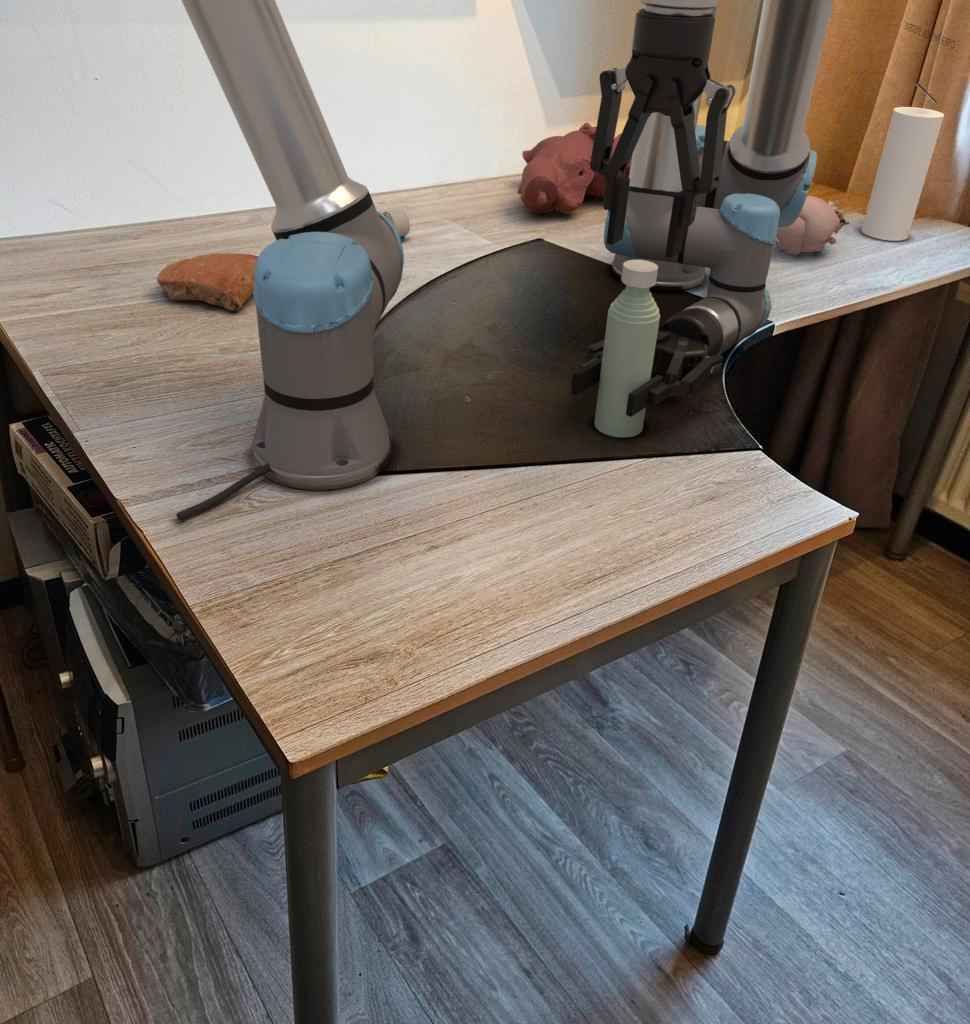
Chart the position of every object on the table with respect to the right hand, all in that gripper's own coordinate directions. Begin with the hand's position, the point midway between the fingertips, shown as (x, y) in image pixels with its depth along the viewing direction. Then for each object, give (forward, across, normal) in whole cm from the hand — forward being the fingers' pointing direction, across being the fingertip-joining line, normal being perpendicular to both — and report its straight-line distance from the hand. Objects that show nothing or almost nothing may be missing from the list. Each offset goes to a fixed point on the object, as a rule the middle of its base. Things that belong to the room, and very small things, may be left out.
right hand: (602, 394), depth 110 cm
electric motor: (-35, +66, -6) cm, 74 cm away
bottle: (-5, 0, -6) cm, 8 cm away
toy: (-84, +10, -6) cm, 85 cm away
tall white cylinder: (-105, +3, -6) cm, 106 cm away
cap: (-5, 0, +14) cm, 15 cm away
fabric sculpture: (-77, +55, -6) cm, 95 cm away
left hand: (-5, 0, +16) cm, 17 cm away
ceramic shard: (+1, +68, -6) cm, 69 cm away
